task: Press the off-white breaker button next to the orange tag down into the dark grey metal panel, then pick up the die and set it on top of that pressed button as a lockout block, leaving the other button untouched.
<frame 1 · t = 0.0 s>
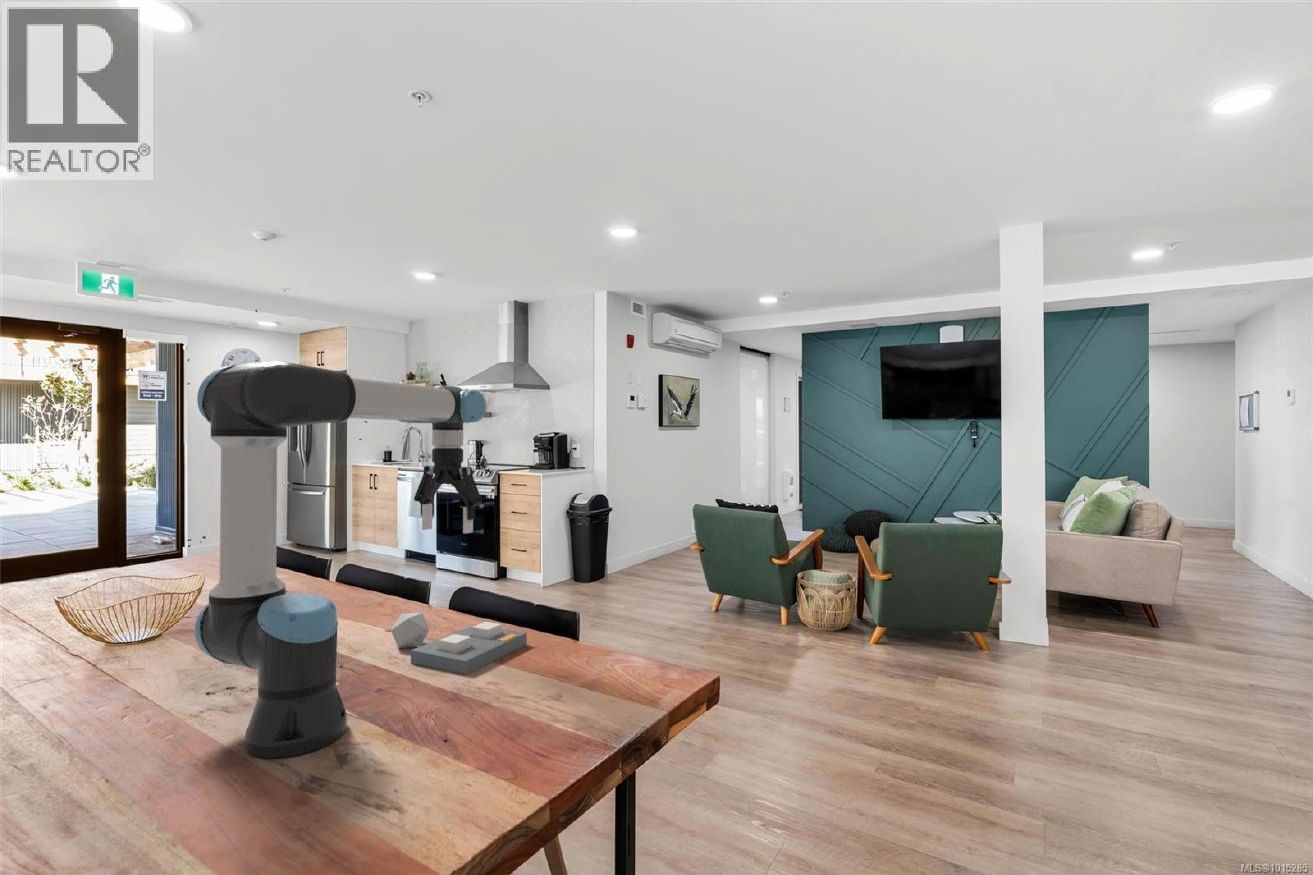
hand: (447, 531, 156), 28 cm above the table, tool pointing down, fingers open, 13 cm apart
other button: (455, 645, 142), point 4 cm above the table, slide at 0.0 cm
die: (410, 646, 153), on the table
breaker panel: (471, 653, 147), on the table
tagged button: (486, 632, 152), point 4 cm above the table, slide at 0.0 cm
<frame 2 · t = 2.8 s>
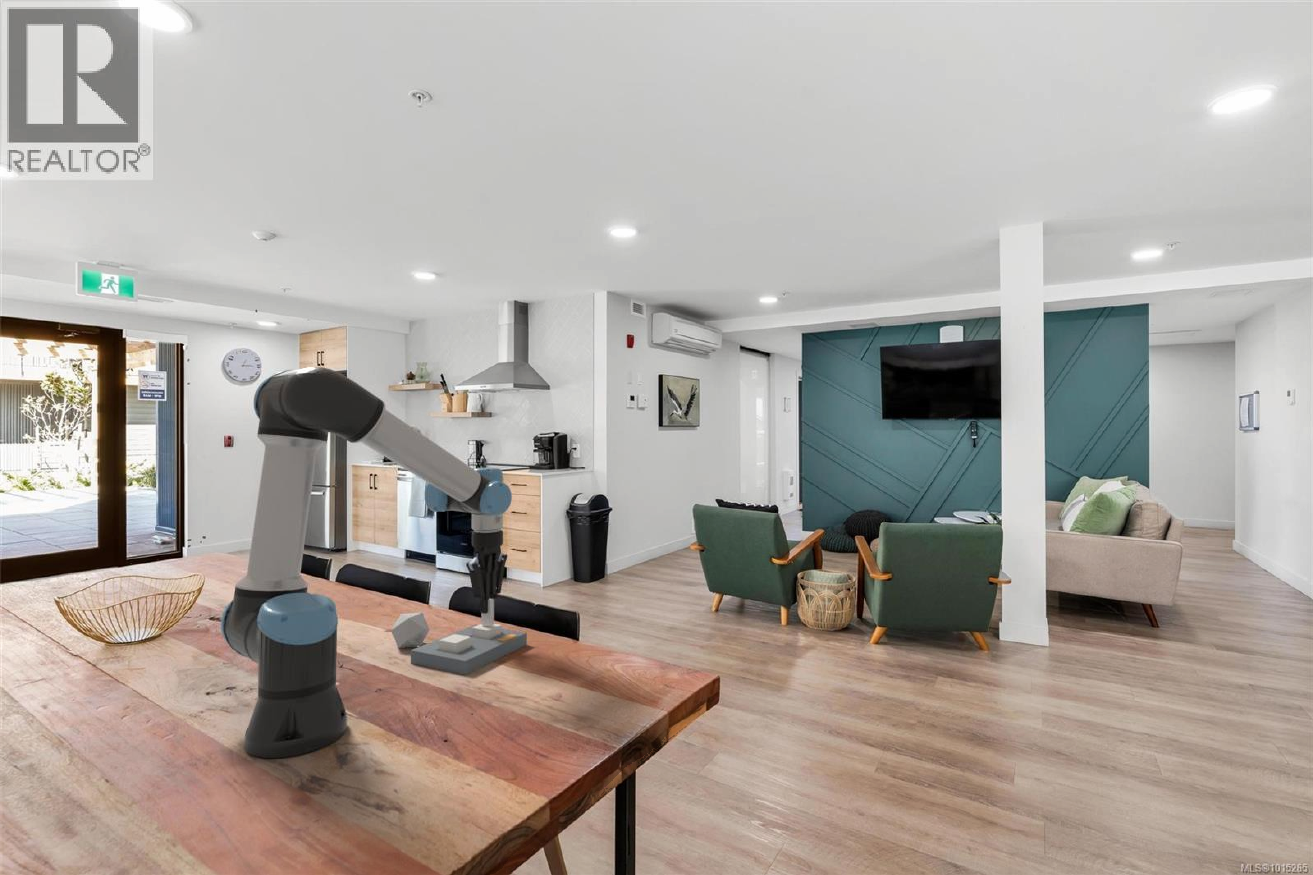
hand: (487, 625, 152), 5 cm above the table, tool pointing down, fingers closed
tagged button: (486, 632, 152), point 3 cm above the table, slide at 0.2 cm, touching gripper
everything else where it was.
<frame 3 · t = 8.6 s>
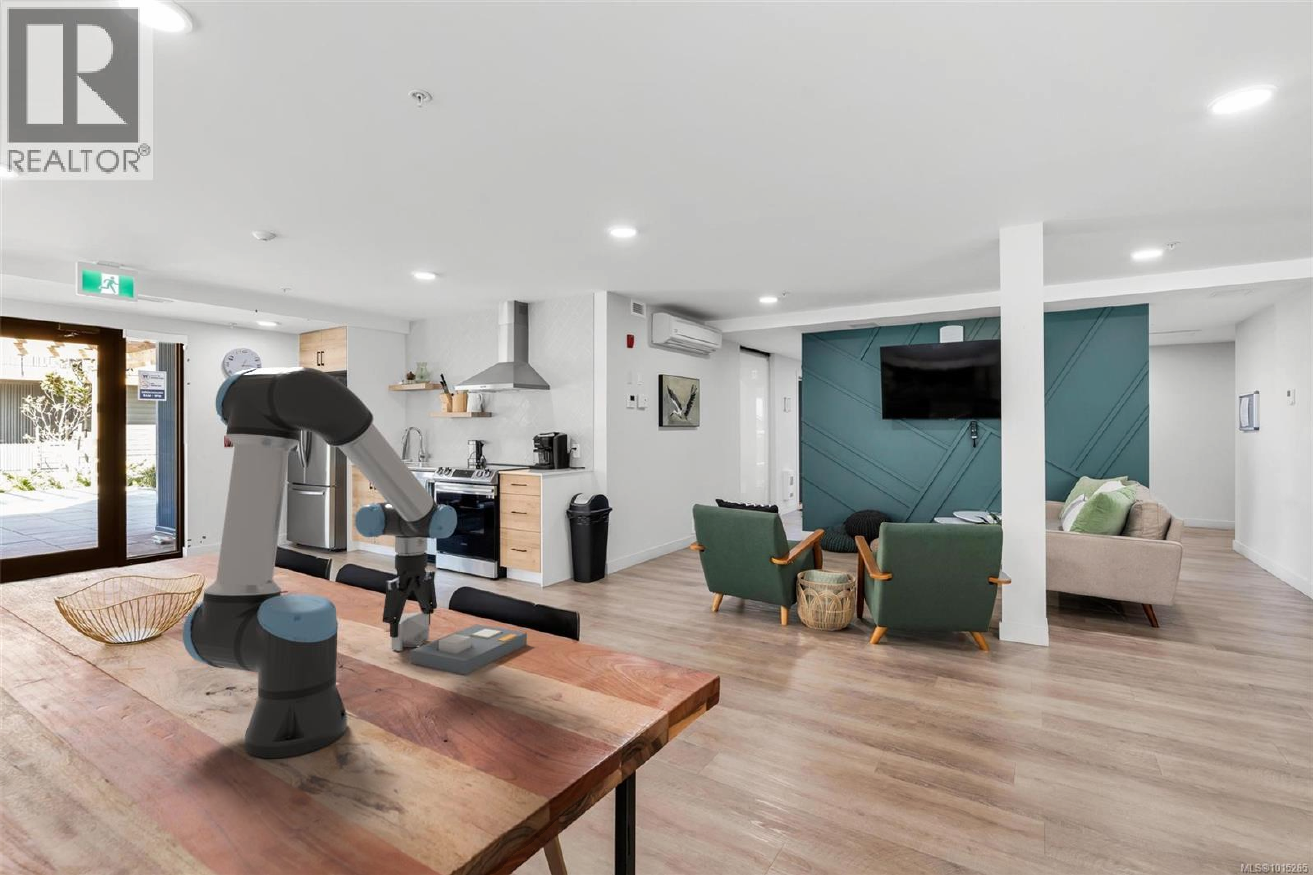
hand: (410, 644, 153), 0 cm above the table, tool pointing down, fingers closed on die, 8 cm apart
die: (410, 646, 153), on the table, touching gripper
tagged button: (486, 639, 152), point 2 cm above the table, slide at 1.8 cm
everything else where it was.
when the fingers open (5 cm above the table, at t = 13.7 s): die drops 1 cm, resting on tagged button.
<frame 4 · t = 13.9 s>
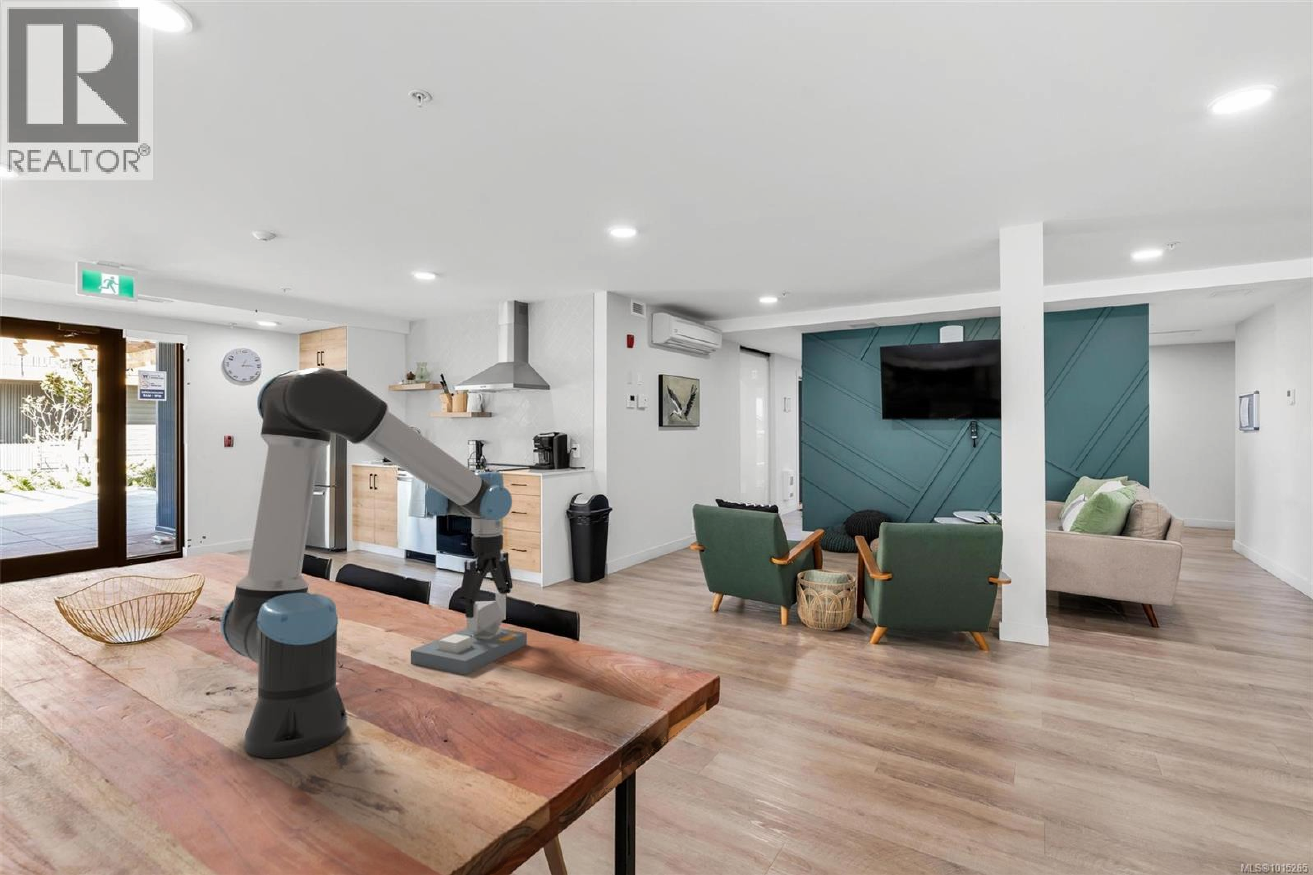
hand: (486, 624, 152), 5 cm above the table, tool pointing down, fingers open, 10 cm apart
die: (485, 634, 152), point 3 cm above the table, touching tagged button
tagged button: (486, 640, 152), point 2 cm above the table, slide at 2.0 cm, touching die
everything else where it was.
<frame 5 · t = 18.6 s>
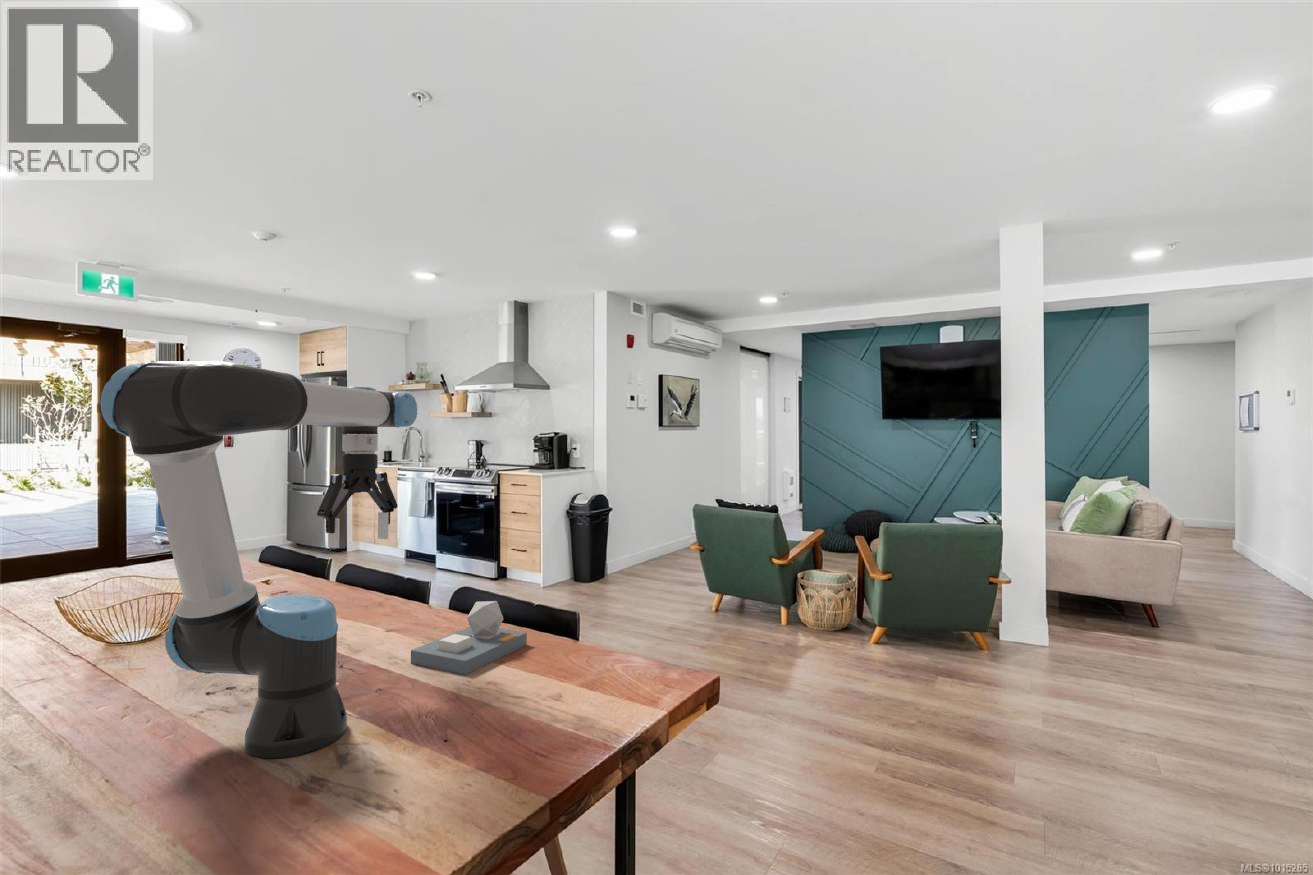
hand: (359, 543, 145), 27 cm above the table, tool pointing down, fingers open, 13 cm apart
nothing on the table moved.
at the end: tagged button slide at 2.0 cm; die 0.3 cm from the target spot on the breaker panel, point 3.0 cm above the breaker panel's base; other button slide at 0.0 cm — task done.
